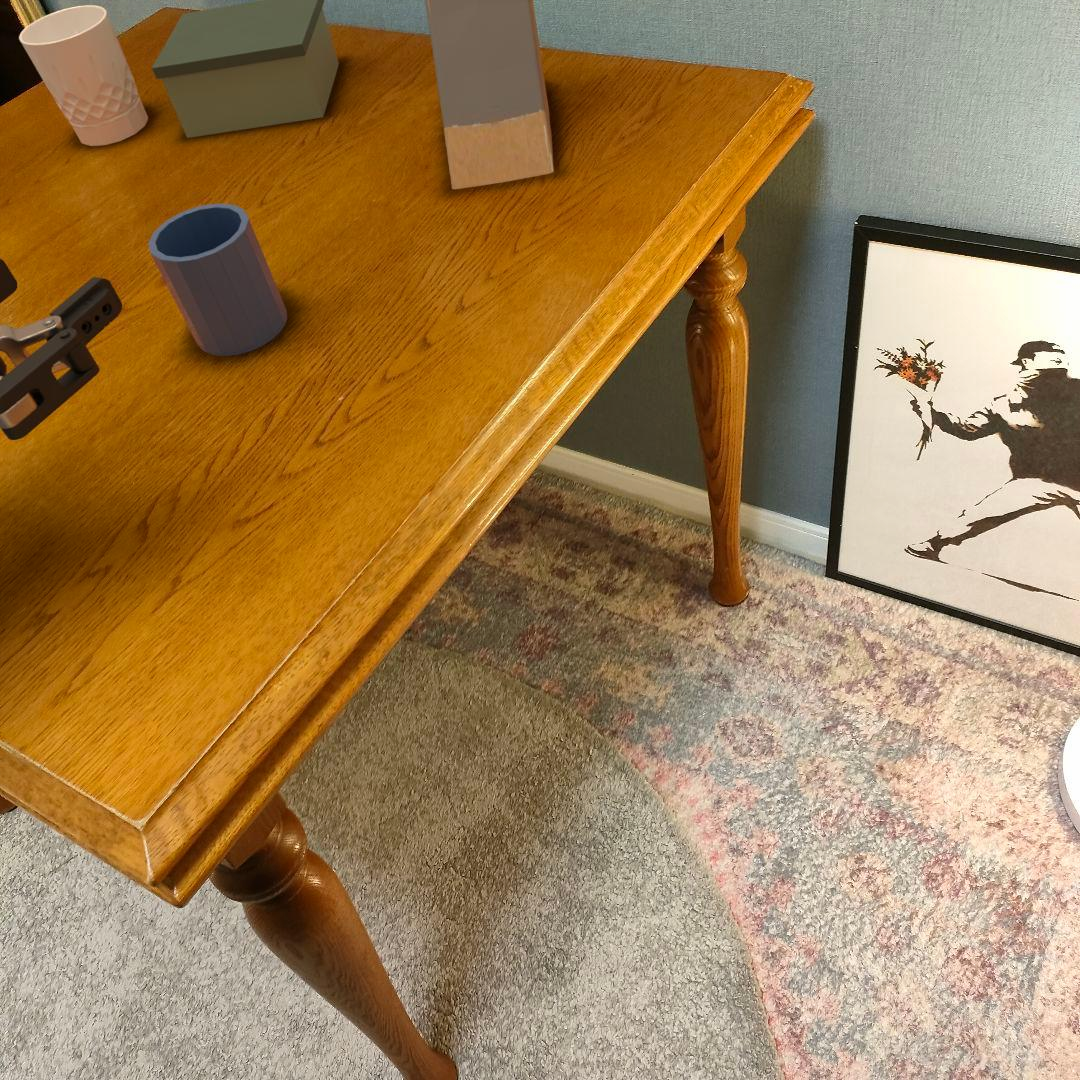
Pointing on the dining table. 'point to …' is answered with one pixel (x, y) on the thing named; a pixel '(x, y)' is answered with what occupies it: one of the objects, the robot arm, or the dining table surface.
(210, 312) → the blue cup
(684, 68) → the dining table surface
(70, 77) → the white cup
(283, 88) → the storage box
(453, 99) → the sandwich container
